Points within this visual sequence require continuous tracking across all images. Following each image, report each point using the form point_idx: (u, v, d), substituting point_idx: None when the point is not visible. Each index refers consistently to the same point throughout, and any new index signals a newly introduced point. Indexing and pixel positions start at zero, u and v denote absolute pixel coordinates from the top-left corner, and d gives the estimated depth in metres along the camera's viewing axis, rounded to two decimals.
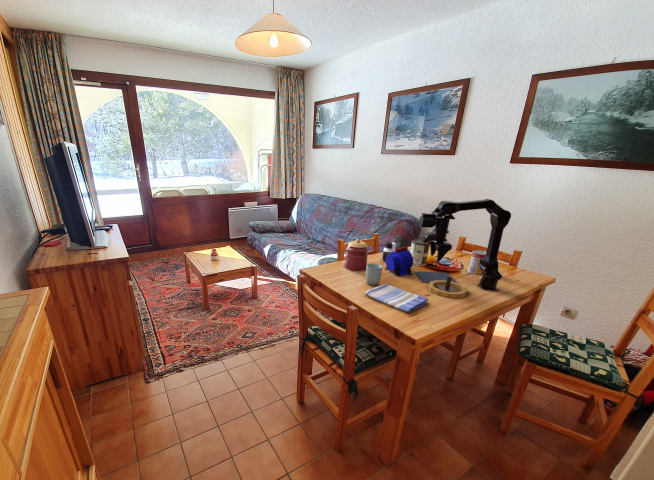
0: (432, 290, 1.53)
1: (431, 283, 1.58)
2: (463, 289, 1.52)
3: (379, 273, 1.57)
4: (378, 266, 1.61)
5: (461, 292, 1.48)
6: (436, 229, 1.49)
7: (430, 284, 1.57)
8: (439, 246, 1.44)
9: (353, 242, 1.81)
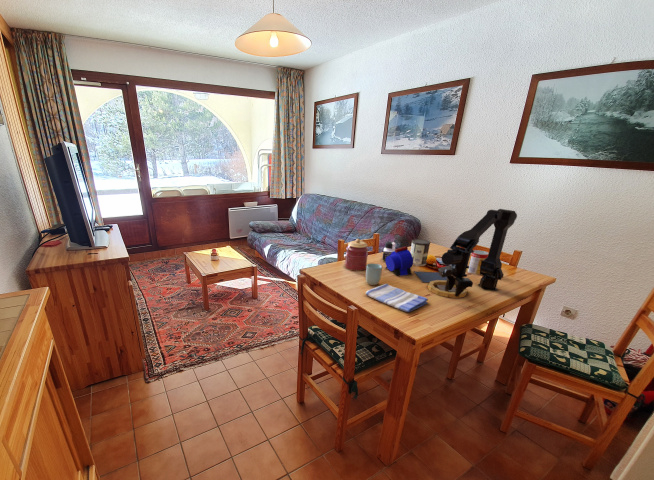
0: (432, 290, 1.53)
1: (431, 283, 1.58)
2: None
3: (379, 273, 1.57)
4: (378, 266, 1.61)
5: None
6: (455, 263, 1.41)
7: (430, 284, 1.57)
8: (459, 283, 1.36)
9: (353, 242, 1.81)
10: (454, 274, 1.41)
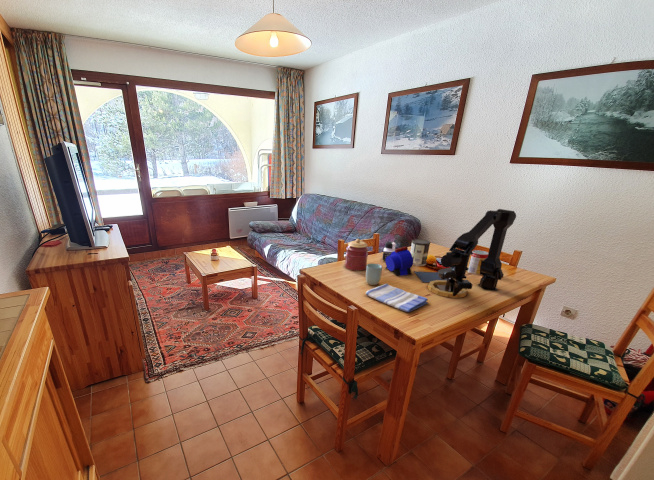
0: (432, 290, 1.53)
1: (431, 283, 1.58)
2: (463, 289, 1.52)
3: (379, 273, 1.57)
4: (378, 266, 1.61)
5: (461, 292, 1.48)
6: (455, 266, 1.41)
7: (430, 284, 1.57)
8: (459, 285, 1.37)
9: (353, 242, 1.81)
10: (454, 276, 1.42)
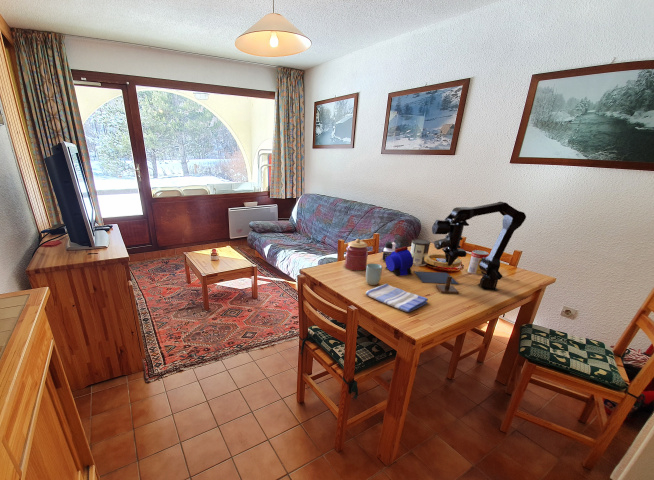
0: (428, 261, 1.60)
1: (427, 256, 1.65)
2: (457, 260, 1.59)
3: (379, 273, 1.57)
4: (378, 266, 1.61)
5: (456, 262, 1.55)
6: (450, 236, 1.48)
7: (426, 256, 1.64)
8: (453, 253, 1.43)
9: (353, 242, 1.81)
10: (449, 246, 1.49)
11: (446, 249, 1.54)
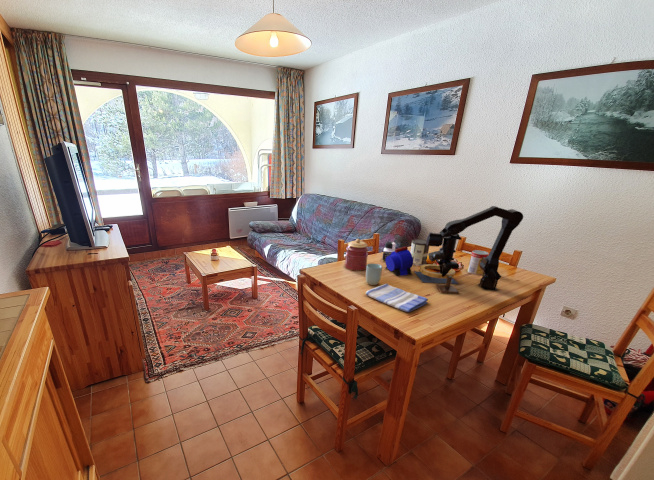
0: (423, 272, 1.67)
1: (422, 266, 1.72)
2: (451, 271, 1.65)
3: (379, 273, 1.57)
4: (378, 266, 1.61)
5: (449, 273, 1.62)
6: (443, 248, 1.55)
7: (421, 267, 1.71)
8: (446, 265, 1.50)
9: (353, 242, 1.81)
10: (442, 258, 1.55)
11: (440, 261, 1.61)
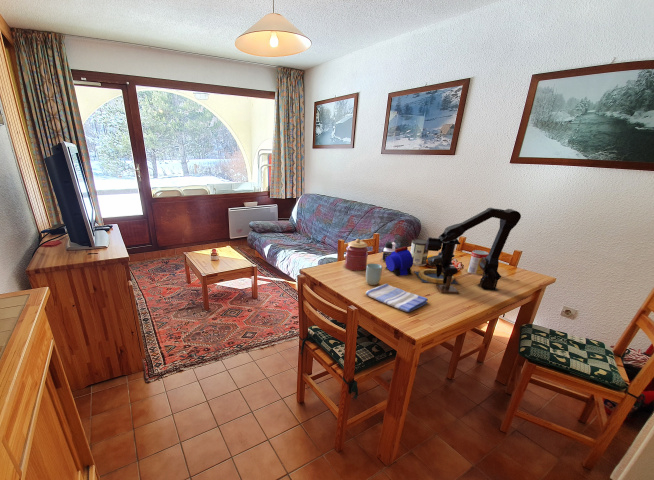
0: (422, 277, 1.68)
1: (421, 271, 1.73)
2: None
3: (379, 273, 1.57)
4: (378, 266, 1.61)
5: None
6: (442, 253, 1.56)
7: (420, 272, 1.72)
8: (445, 270, 1.51)
9: (353, 242, 1.81)
10: (441, 262, 1.56)
11: None
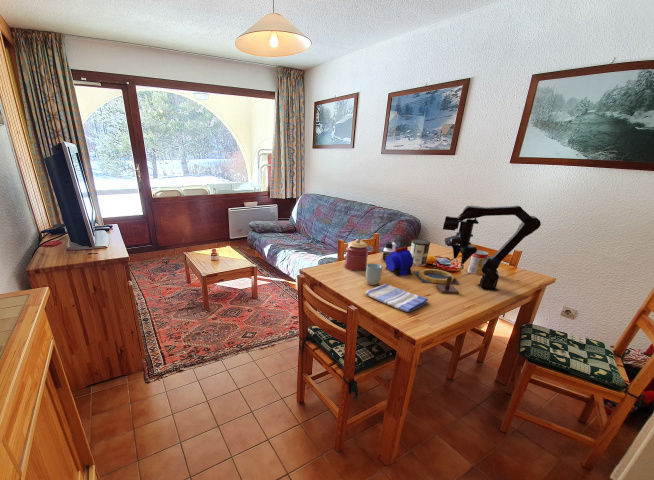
0: (422, 277, 1.68)
1: (421, 271, 1.73)
2: None
3: (379, 273, 1.57)
4: (378, 266, 1.61)
5: None
6: (460, 233, 1.54)
7: (420, 272, 1.72)
8: (464, 249, 1.49)
9: (353, 242, 1.81)
10: (459, 242, 1.54)
11: None
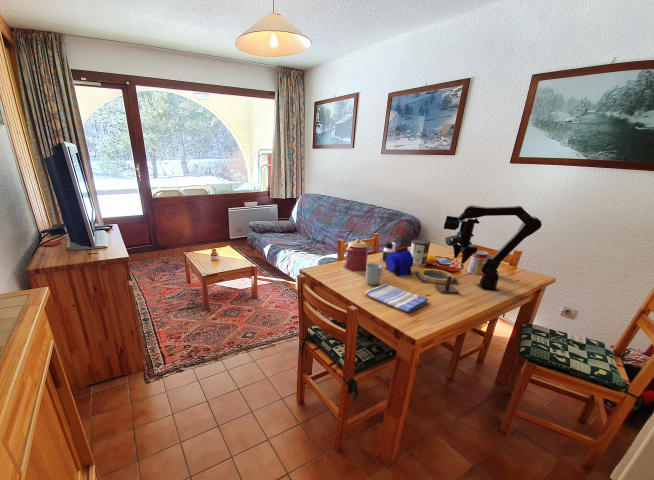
0: (422, 277, 1.68)
1: (421, 271, 1.73)
2: None
3: (379, 273, 1.57)
4: (378, 266, 1.61)
5: None
6: (461, 232, 1.54)
7: (420, 272, 1.72)
8: (465, 249, 1.49)
9: (353, 242, 1.81)
10: (460, 242, 1.54)
11: (454, 244, 1.63)
